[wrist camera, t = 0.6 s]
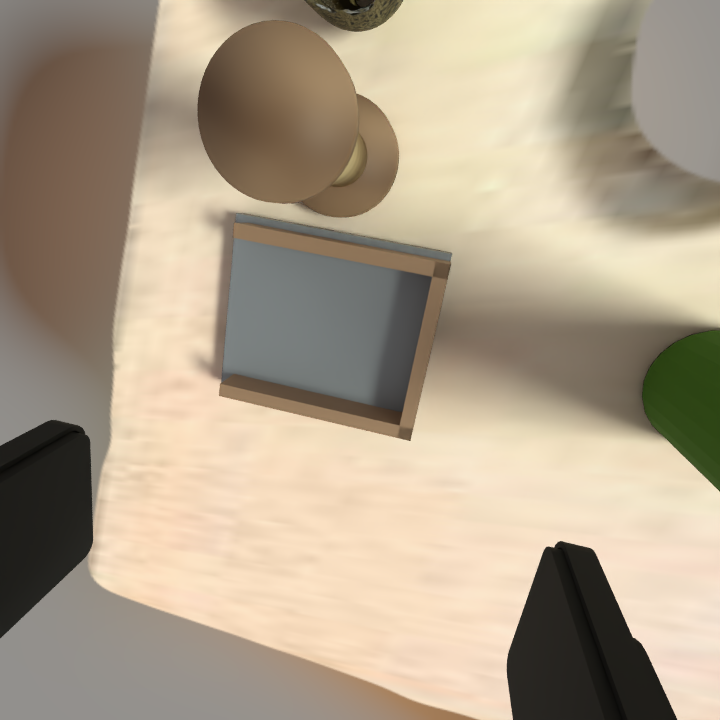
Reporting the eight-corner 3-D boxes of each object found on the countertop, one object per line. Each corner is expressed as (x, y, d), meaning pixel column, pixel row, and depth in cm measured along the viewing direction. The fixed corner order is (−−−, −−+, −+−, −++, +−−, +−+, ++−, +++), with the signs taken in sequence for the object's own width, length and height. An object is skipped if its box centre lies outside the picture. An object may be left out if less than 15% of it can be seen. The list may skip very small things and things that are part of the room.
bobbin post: (297, 88, 33) (192, -7, 19) (409, 106, 32) (383, 20, 18) (283, 207, 35) (181, 197, 22) (387, 226, 35) (350, 229, 21)
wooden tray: (244, 213, 36) (220, 212, 32) (451, 252, 34) (452, 256, 30) (228, 382, 40) (206, 398, 37) (412, 424, 39) (408, 446, 35)
